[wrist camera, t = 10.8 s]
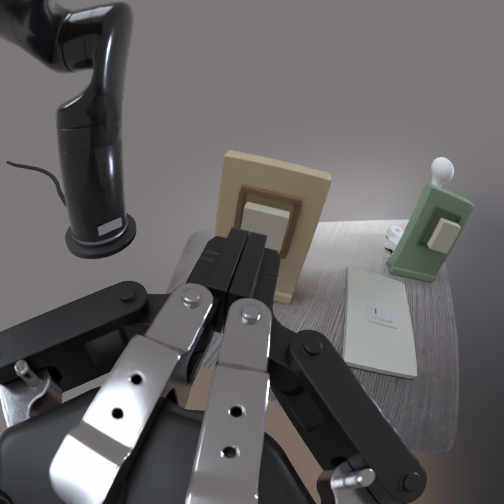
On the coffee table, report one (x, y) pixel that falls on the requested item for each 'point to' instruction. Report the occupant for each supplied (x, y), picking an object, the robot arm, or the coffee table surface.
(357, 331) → the light switch
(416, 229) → the far plate
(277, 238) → the near switch
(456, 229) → the far switch
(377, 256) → the coffee table surface
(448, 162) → the joystick
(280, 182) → the near plate
